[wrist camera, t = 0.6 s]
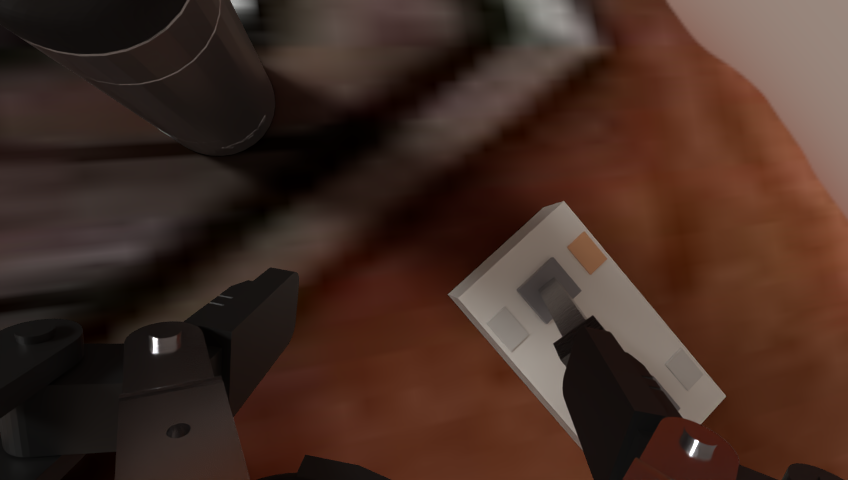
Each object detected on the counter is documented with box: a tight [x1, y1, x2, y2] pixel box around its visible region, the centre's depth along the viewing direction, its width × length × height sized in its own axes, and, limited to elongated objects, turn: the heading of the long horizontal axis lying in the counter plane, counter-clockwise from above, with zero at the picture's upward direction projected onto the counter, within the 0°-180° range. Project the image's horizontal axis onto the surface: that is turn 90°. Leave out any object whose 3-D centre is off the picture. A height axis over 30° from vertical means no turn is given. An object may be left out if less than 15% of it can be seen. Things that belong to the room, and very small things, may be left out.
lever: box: [538, 277, 606, 367], centre depth 27 cm, size 3×3×12 cm
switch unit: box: [448, 201, 726, 450], centre depth 37 cm, size 22×12×4 cm, turn 41°
